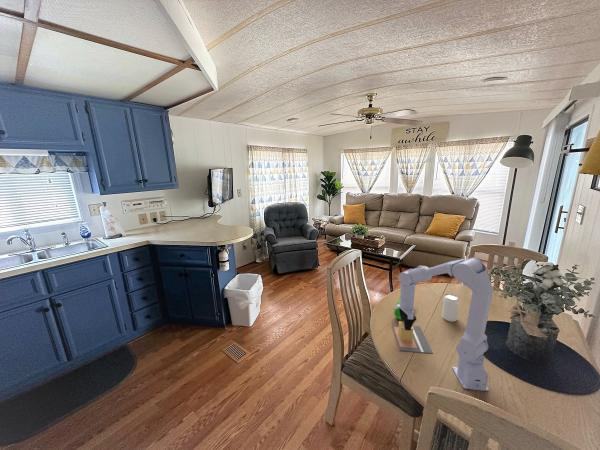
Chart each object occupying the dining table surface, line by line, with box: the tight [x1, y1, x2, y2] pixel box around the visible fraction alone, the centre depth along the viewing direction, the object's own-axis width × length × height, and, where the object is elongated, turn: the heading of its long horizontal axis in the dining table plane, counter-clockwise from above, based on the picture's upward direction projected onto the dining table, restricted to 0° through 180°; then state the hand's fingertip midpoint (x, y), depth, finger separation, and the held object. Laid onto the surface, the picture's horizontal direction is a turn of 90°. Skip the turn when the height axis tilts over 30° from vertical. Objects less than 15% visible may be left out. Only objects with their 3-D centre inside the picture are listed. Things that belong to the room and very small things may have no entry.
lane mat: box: [391, 324, 434, 354], centre depth 111 cm, size 18×13×1 cm
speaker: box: [393, 297, 402, 321], centre depth 131 cm, size 18×7×8 cm, turn 148°
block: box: [398, 320, 413, 341], centre depth 111 cm, size 5×5×6 cm
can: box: [441, 293, 460, 323], centre depth 124 cm, size 6×6×12 cm
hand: (405, 324), depth 110 cm, fingers open, 7 cm apart
